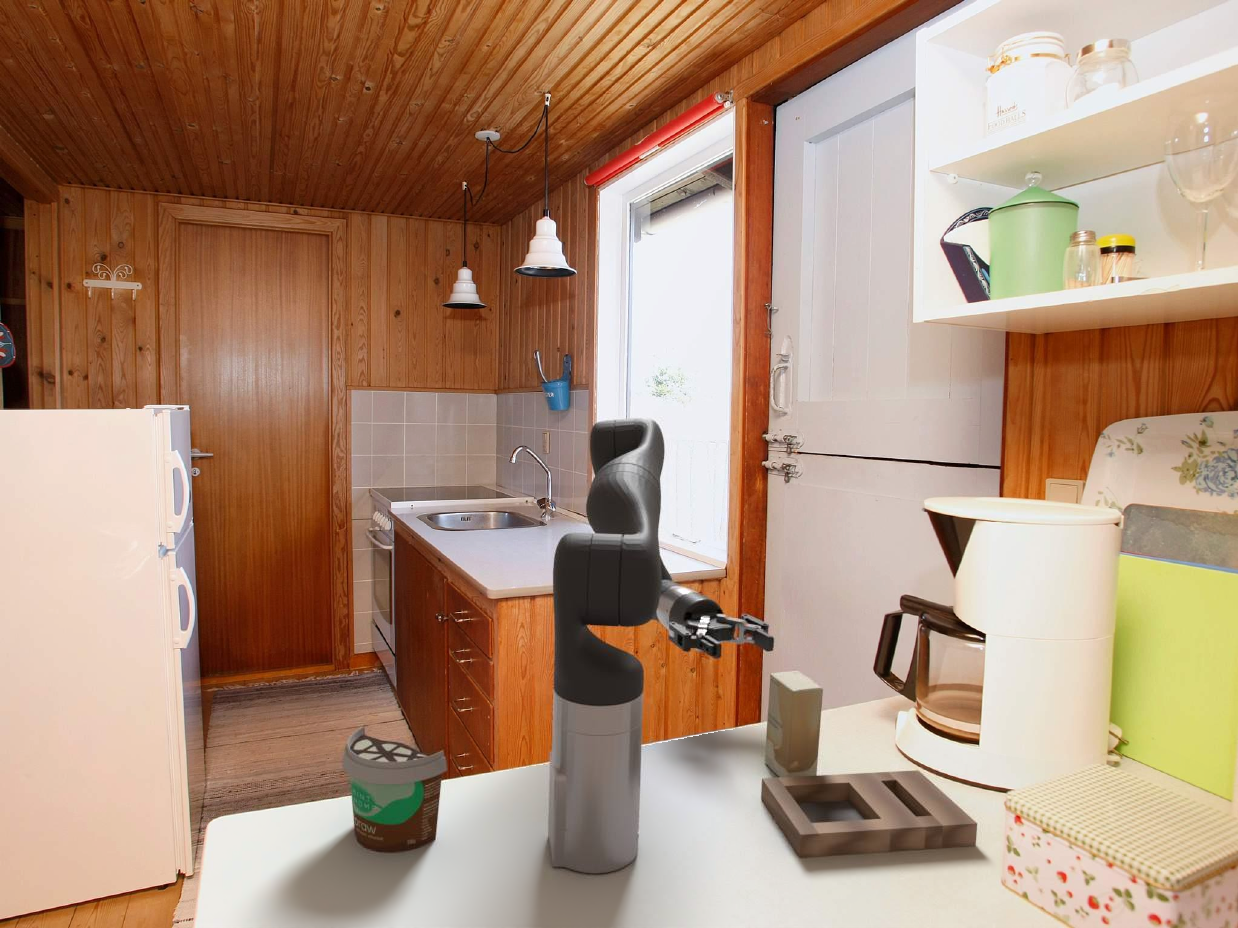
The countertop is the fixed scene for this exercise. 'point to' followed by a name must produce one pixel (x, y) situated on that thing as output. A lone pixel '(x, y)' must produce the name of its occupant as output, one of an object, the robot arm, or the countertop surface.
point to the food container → (393, 793)
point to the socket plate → (865, 813)
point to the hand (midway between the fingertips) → (745, 648)
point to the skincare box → (793, 724)
